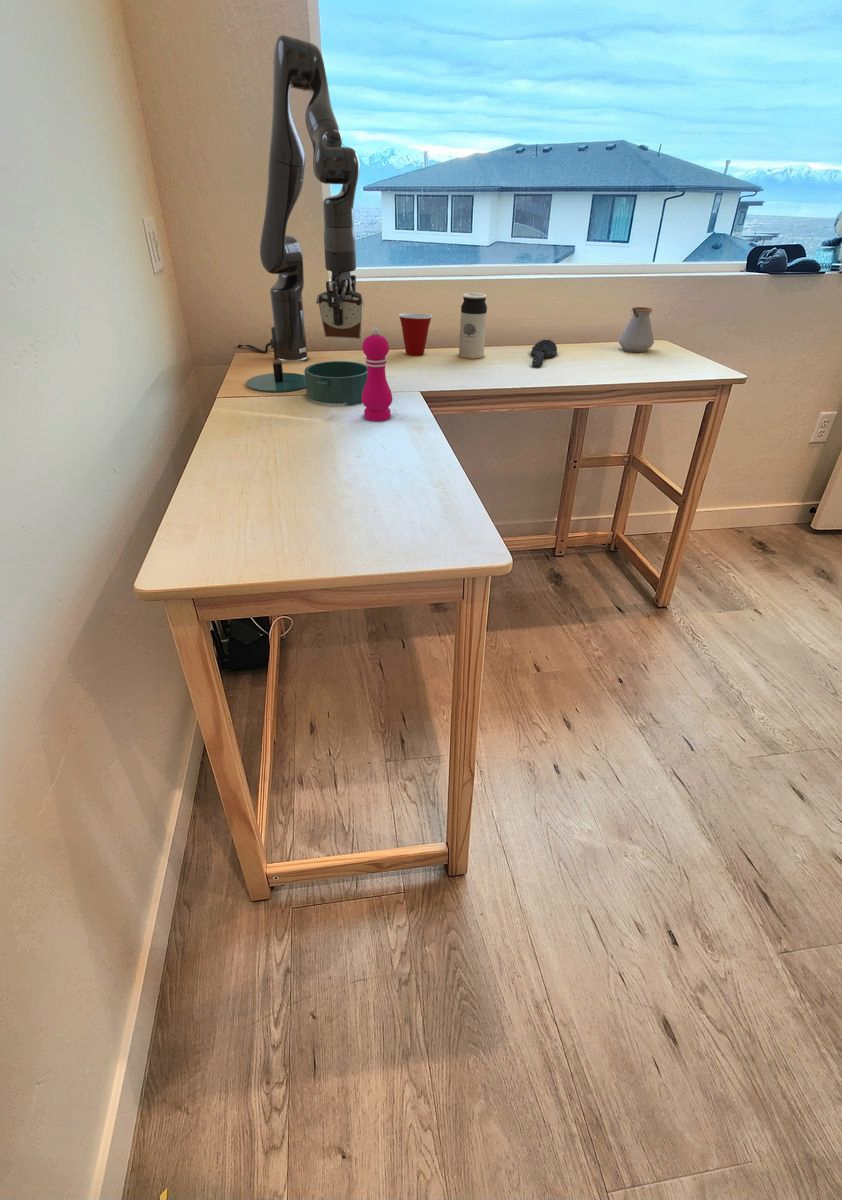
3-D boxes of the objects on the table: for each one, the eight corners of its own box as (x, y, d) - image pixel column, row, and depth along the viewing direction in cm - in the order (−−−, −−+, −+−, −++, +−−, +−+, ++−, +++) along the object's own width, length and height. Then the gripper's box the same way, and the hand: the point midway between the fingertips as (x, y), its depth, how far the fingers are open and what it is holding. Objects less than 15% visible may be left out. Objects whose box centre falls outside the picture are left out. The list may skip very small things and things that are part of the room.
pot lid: (234, 391, 163) (230, 368, 160) (265, 374, 177) (263, 352, 174) (295, 397, 159) (293, 374, 156) (322, 379, 173) (320, 357, 170)
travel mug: (467, 352, 203) (470, 291, 193) (488, 355, 200) (492, 294, 189) (454, 356, 198) (456, 294, 188) (475, 360, 194) (479, 297, 184)
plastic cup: (434, 351, 204) (436, 311, 197) (427, 359, 195) (428, 318, 188) (403, 349, 206) (403, 309, 199) (394, 356, 197) (394, 315, 190)
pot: (291, 405, 154) (289, 377, 150) (326, 382, 172) (324, 356, 168) (354, 411, 151) (352, 383, 147) (382, 387, 168) (382, 361, 164)
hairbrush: (523, 356, 188) (535, 335, 207) (522, 369, 190) (534, 347, 209) (550, 359, 186) (560, 338, 205) (549, 371, 188) (558, 349, 207)
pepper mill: (396, 414, 149) (396, 325, 138) (385, 423, 144) (384, 332, 132) (369, 411, 151) (366, 323, 140) (357, 419, 146) (353, 329, 134)
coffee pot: (621, 344, 217) (630, 297, 208) (654, 348, 212) (665, 300, 204) (606, 357, 201) (615, 307, 192) (642, 361, 197) (652, 310, 188)
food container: (370, 331, 164) (368, 290, 157) (365, 339, 159) (363, 297, 153) (325, 328, 165) (321, 288, 158) (319, 336, 160) (315, 295, 154)
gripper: (337, 244, 156) (340, 316, 166) (313, 250, 145) (318, 327, 155) (365, 246, 155) (366, 318, 164) (342, 252, 143) (346, 329, 153)
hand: (343, 322), depth 159 cm, fingers closed on food container, 5 cm apart
